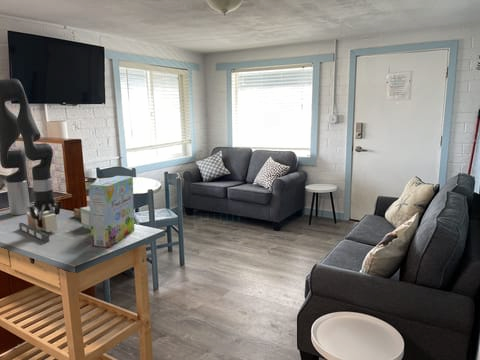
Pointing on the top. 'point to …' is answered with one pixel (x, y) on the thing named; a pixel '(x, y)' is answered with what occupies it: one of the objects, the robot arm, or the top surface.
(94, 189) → the snack box
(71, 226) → the top surface
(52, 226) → the box
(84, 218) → the sage tea tin
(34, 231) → the rail
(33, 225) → the faced twin box
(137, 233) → the top surface
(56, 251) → the top surface
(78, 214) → the shelf back lip
